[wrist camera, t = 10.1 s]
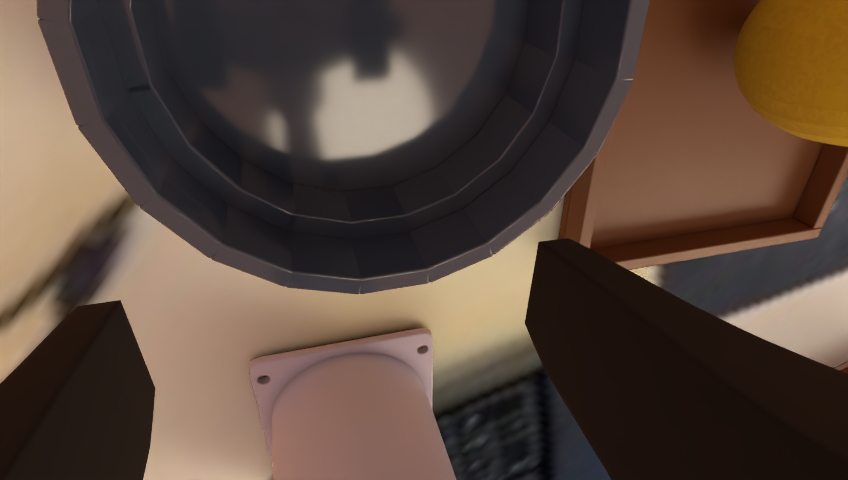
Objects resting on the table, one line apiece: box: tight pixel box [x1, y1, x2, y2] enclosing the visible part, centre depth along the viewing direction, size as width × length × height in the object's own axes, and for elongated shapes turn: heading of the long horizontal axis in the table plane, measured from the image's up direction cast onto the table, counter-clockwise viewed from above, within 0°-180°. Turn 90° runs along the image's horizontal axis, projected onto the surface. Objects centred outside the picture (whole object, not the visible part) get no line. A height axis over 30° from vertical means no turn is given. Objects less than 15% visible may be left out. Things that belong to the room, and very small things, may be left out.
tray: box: [559, 0, 848, 270], centre depth 19 cm, size 19×13×2 cm
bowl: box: [37, 0, 650, 294], centre depth 14 cm, size 14×14×5 cm
